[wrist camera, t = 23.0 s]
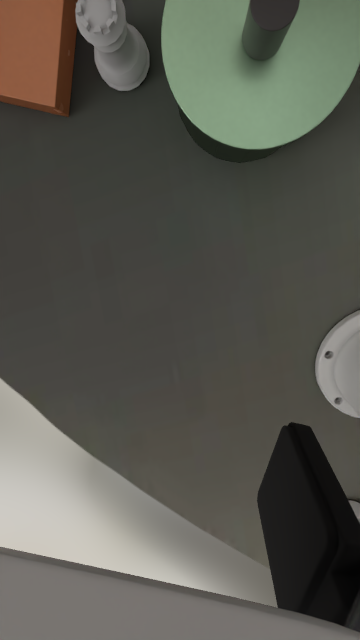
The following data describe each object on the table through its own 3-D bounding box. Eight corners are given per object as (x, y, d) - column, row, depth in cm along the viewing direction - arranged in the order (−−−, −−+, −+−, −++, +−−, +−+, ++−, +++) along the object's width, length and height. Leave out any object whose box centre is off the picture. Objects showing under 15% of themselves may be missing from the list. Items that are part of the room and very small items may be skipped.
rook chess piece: (87, 54, 28) (45, -5, 20) (129, 16, 27) (102, -60, 20) (119, 104, 29) (89, 67, 21) (161, 70, 28) (146, 18, 21)
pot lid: (393, -57, 19) (450, -137, 15) (320, 170, 23) (349, 160, 18) (185, -106, 19) (180, -202, 14) (147, 130, 23) (134, 111, 18)
